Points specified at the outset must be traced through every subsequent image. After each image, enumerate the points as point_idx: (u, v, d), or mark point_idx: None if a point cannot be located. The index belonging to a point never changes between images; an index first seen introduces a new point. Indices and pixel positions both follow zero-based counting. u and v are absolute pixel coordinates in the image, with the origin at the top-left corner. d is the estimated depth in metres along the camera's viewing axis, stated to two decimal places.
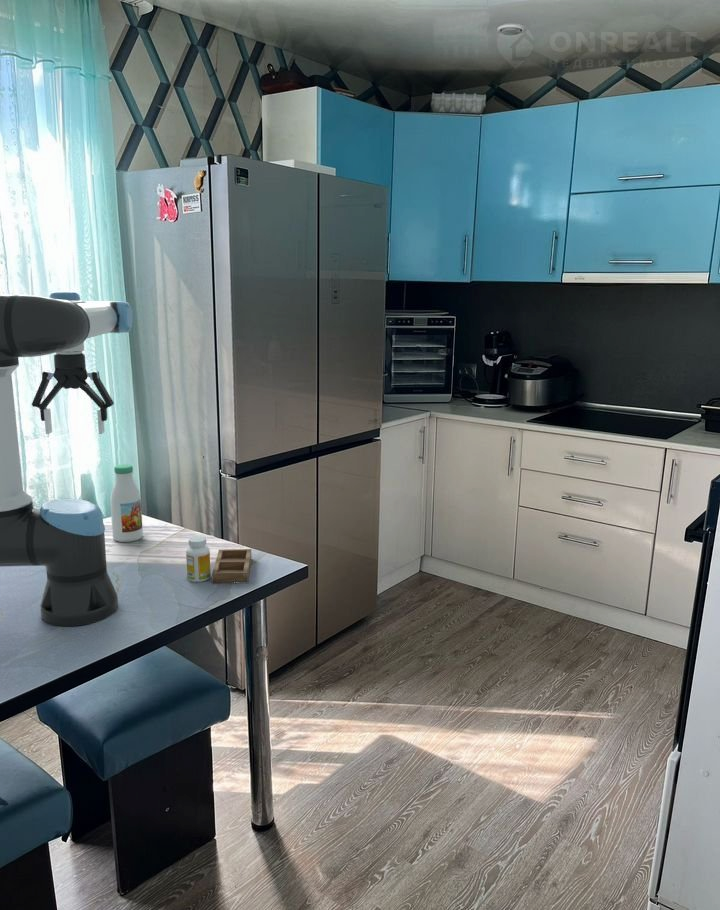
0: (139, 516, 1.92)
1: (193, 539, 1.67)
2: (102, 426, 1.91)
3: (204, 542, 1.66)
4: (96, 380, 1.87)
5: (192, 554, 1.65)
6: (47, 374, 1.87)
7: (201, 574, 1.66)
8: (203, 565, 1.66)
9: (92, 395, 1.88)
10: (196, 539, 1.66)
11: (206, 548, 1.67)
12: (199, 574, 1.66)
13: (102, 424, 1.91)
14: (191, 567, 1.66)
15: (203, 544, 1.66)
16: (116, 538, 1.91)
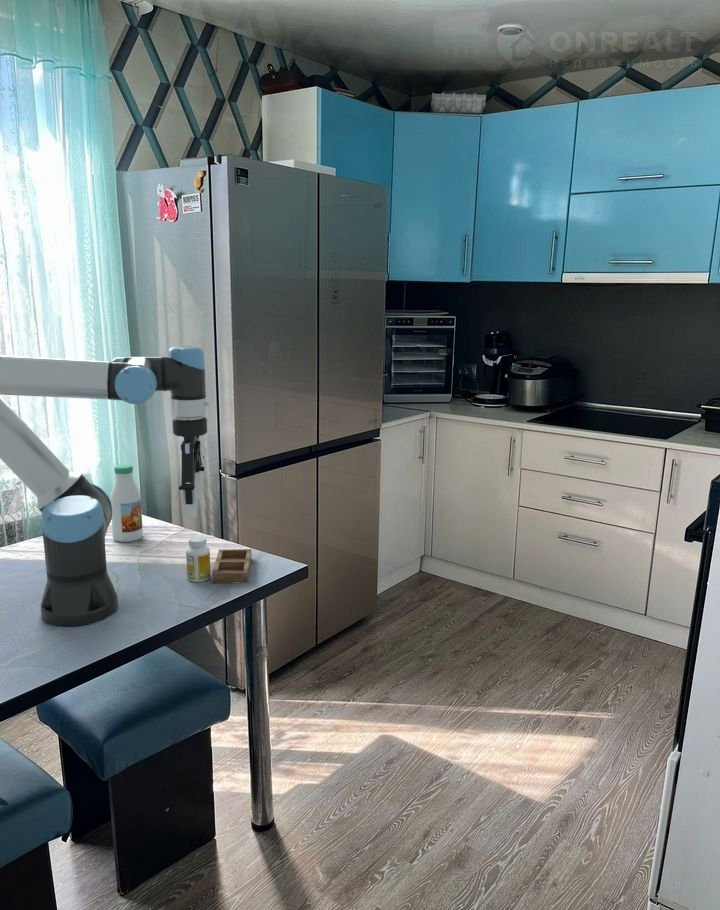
0: (139, 516, 1.92)
1: (193, 539, 1.67)
2: (188, 509, 1.59)
3: (204, 542, 1.66)
4: None
5: (192, 554, 1.65)
6: None
7: (201, 574, 1.66)
8: (203, 565, 1.66)
9: None
10: (196, 539, 1.66)
11: (206, 548, 1.67)
12: (199, 574, 1.66)
13: (189, 507, 1.58)
14: (191, 567, 1.66)
15: (203, 544, 1.66)
16: (116, 538, 1.91)
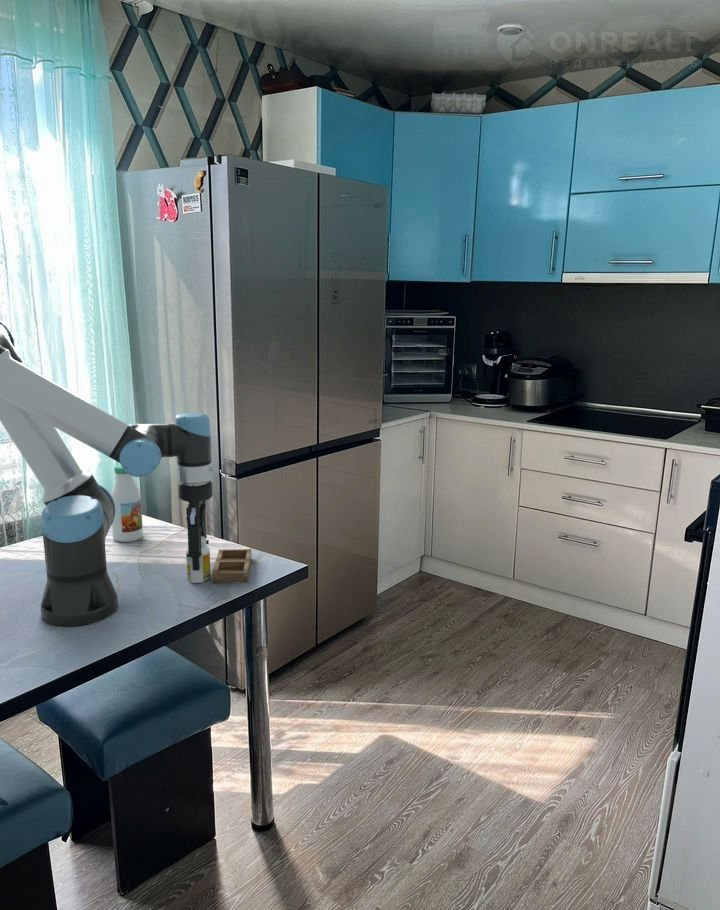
0: (139, 516, 1.92)
1: None
2: (195, 575, 1.65)
3: (204, 542, 1.66)
4: None
5: None
6: None
7: None
8: (203, 565, 1.66)
9: None
10: None
11: (206, 548, 1.67)
12: None
13: (196, 573, 1.65)
14: None
15: (203, 544, 1.66)
16: (116, 538, 1.91)
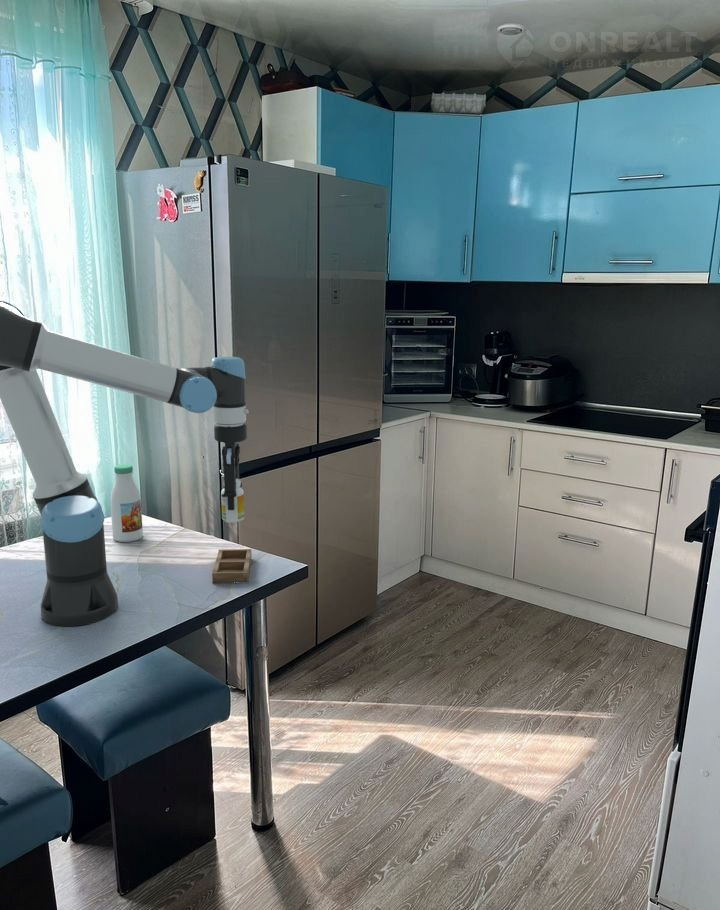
0: (139, 516, 1.92)
1: None
2: (230, 515, 1.71)
3: (239, 483, 1.72)
4: (223, 464, 1.65)
5: None
6: None
7: None
8: (237, 505, 1.72)
9: None
10: None
11: (240, 489, 1.72)
12: None
13: (231, 513, 1.71)
14: None
15: (238, 485, 1.71)
16: (116, 538, 1.91)
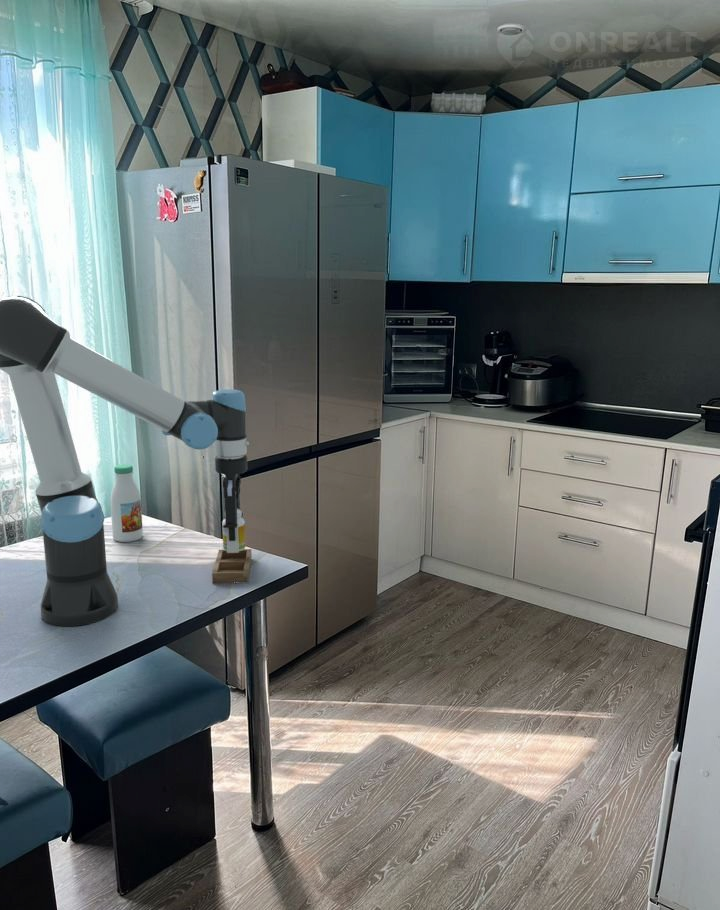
0: (139, 516, 1.92)
1: None
2: (231, 545, 1.73)
3: (240, 514, 1.73)
4: (224, 496, 1.67)
5: None
6: None
7: None
8: (239, 536, 1.73)
9: None
10: None
11: (241, 520, 1.74)
12: None
13: (232, 543, 1.72)
14: None
15: (239, 516, 1.73)
16: (116, 538, 1.91)
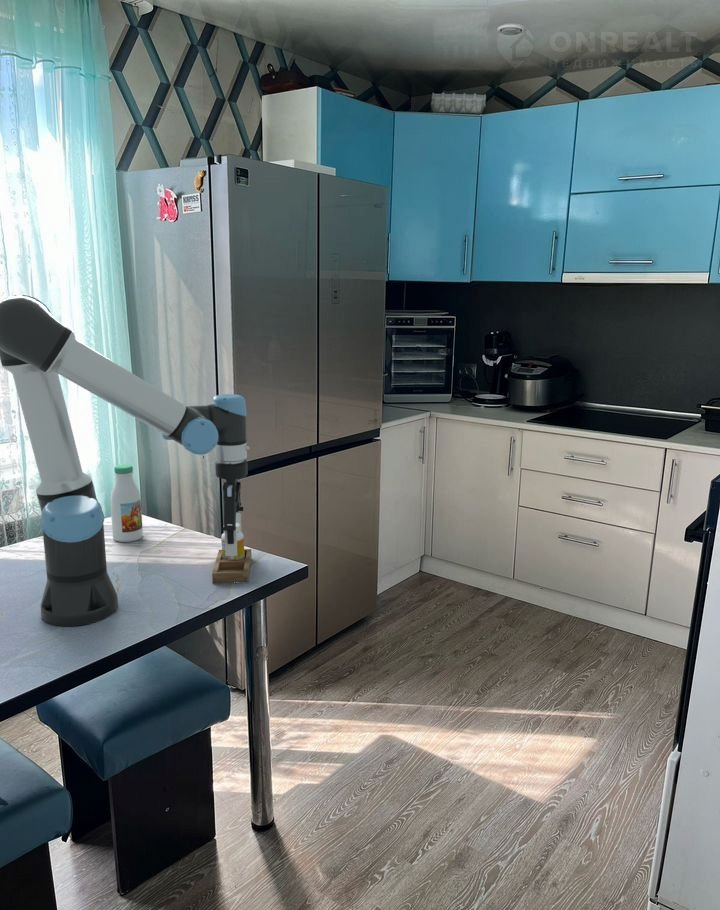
0: (139, 516, 1.92)
1: None
2: (230, 548, 1.69)
3: (238, 528, 1.74)
4: (224, 497, 1.66)
5: None
6: None
7: (236, 559, 1.74)
8: (238, 550, 1.74)
9: None
10: None
11: (240, 533, 1.75)
12: (235, 559, 1.74)
13: (230, 546, 1.69)
14: None
15: (238, 530, 1.74)
16: (116, 538, 1.91)
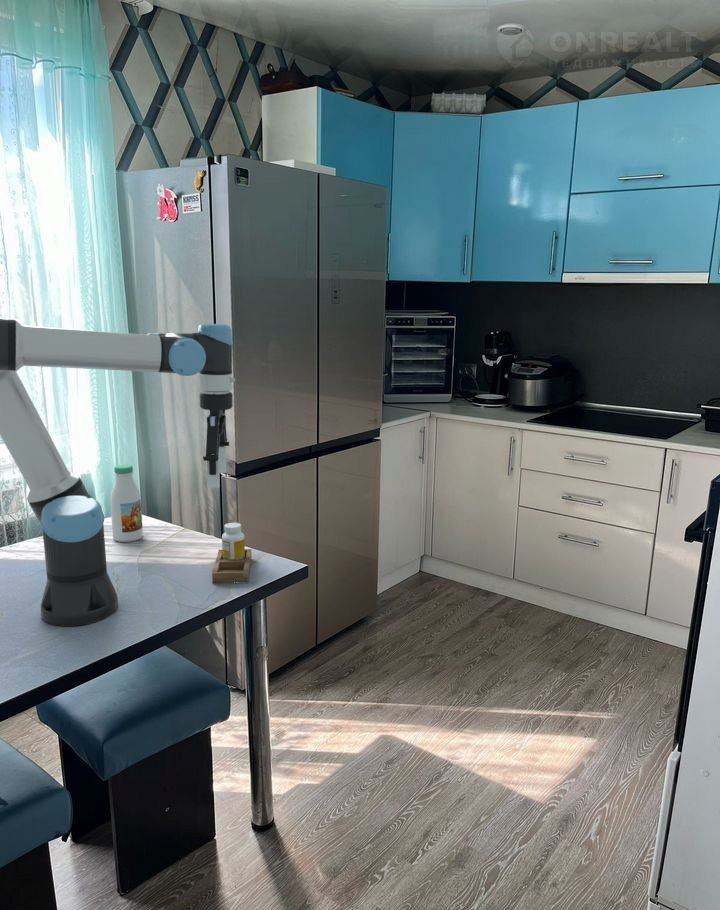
0: (139, 516, 1.92)
1: (229, 525, 1.75)
2: (212, 480, 1.65)
3: (239, 528, 1.74)
4: (207, 426, 1.63)
5: (228, 540, 1.73)
6: None
7: (236, 559, 1.74)
8: (238, 550, 1.74)
9: None
10: (231, 525, 1.74)
11: (241, 534, 1.75)
12: (235, 559, 1.74)
13: (212, 478, 1.65)
14: (227, 552, 1.74)
15: (238, 530, 1.74)
16: (116, 538, 1.91)
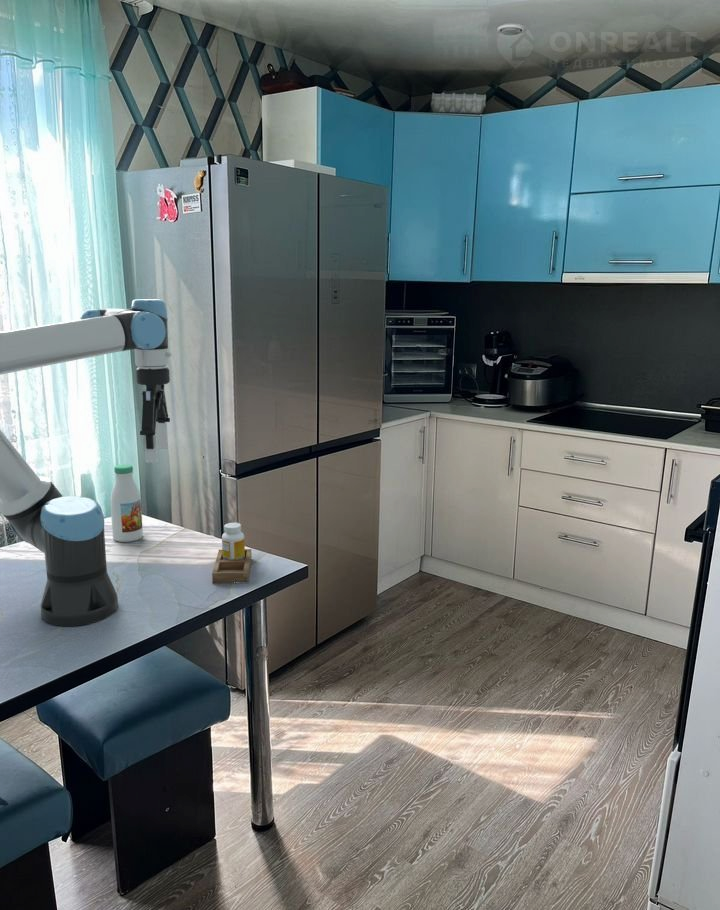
0: (139, 516, 1.92)
1: (229, 525, 1.74)
2: (149, 454, 1.66)
3: (239, 528, 1.74)
4: (143, 401, 1.64)
5: (228, 540, 1.73)
6: None
7: (236, 559, 1.74)
8: (238, 550, 1.74)
9: None
10: (231, 525, 1.74)
11: (241, 534, 1.75)
12: (235, 559, 1.74)
13: (150, 452, 1.66)
14: (227, 552, 1.74)
15: (238, 530, 1.74)
16: (116, 538, 1.91)
